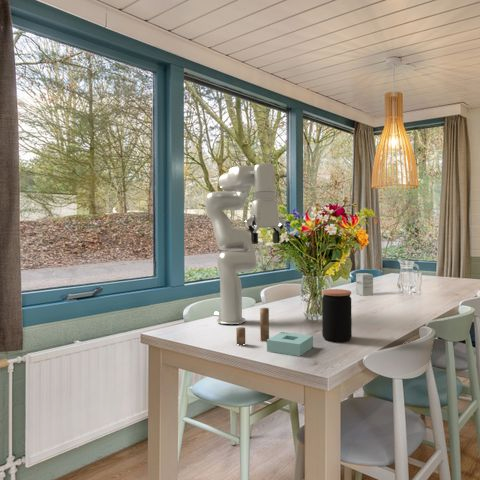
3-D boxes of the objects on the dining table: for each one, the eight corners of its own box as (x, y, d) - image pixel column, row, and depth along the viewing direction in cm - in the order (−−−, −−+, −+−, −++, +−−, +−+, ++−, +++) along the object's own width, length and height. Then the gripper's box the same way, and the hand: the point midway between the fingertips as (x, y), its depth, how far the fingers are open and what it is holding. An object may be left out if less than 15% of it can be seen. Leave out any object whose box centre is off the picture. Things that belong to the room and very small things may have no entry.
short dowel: (235, 345, 157) (234, 328, 157) (239, 343, 160) (239, 326, 159) (242, 346, 155) (242, 329, 155) (247, 344, 158) (246, 327, 158)
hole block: (266, 351, 149) (266, 339, 149) (281, 342, 159) (281, 331, 159) (299, 356, 143) (299, 344, 143) (313, 347, 153) (312, 335, 153)
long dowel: (259, 341, 162) (258, 308, 162) (263, 338, 165) (262, 307, 164) (266, 342, 160) (266, 309, 160) (270, 340, 163) (270, 308, 163)
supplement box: (355, 294, 263) (355, 273, 263) (366, 293, 266) (366, 272, 265) (362, 296, 256) (362, 274, 256) (373, 295, 259) (373, 274, 258)
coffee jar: (347, 335, 168) (346, 288, 168) (355, 342, 158) (355, 293, 157) (319, 335, 168) (319, 289, 167) (326, 343, 157) (325, 293, 157)
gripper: (277, 198, 170) (278, 242, 170) (239, 197, 161) (240, 244, 161) (289, 197, 163) (290, 242, 164) (250, 196, 154) (251, 244, 155)
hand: (265, 243), depth 162 cm, fingers open, 9 cm apart
